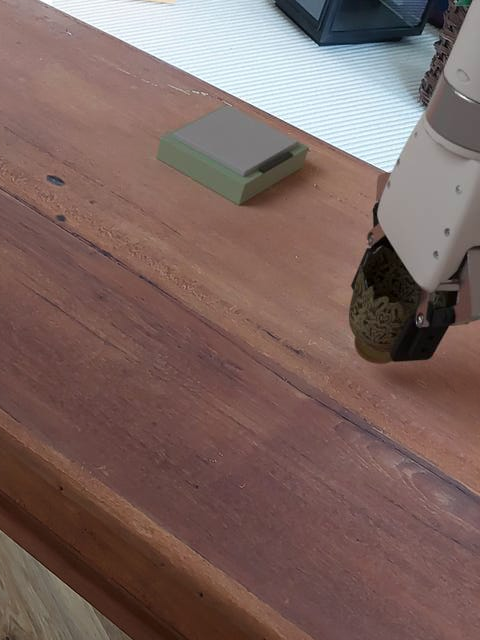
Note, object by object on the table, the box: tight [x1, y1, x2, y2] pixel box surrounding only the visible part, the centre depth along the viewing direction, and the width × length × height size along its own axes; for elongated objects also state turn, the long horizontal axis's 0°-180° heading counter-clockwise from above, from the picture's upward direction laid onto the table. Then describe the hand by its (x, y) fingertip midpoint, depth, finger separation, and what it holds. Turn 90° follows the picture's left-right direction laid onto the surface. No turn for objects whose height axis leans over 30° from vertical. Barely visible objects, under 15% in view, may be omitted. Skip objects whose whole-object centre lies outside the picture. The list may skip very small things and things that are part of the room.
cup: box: [348, 245, 452, 365], centre depth 70 cm, size 8×7×8 cm
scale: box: [156, 104, 310, 206], centre depth 93 cm, size 11×11×3 cm
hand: (389, 321), depth 70 cm, fingers closed on cup, 7 cm apart
